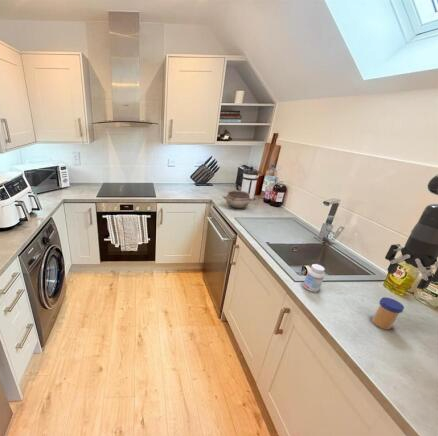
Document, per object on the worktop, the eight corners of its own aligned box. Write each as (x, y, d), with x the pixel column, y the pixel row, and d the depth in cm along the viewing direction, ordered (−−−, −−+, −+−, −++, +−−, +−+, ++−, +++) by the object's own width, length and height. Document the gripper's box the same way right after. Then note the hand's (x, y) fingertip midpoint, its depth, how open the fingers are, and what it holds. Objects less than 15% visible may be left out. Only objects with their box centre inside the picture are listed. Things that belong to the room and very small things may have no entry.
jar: (383, 318, 90) (393, 299, 86) (394, 330, 85) (406, 310, 81) (368, 317, 90) (378, 298, 86) (378, 328, 85) (389, 309, 82)
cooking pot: (250, 204, 204) (253, 191, 199) (254, 212, 188) (257, 198, 183) (220, 202, 210) (222, 189, 205) (221, 209, 193) (223, 195, 188)
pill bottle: (300, 282, 109) (307, 262, 104) (315, 284, 108) (322, 263, 103) (306, 291, 104) (313, 270, 99) (321, 293, 102) (329, 272, 98)
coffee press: (253, 196, 224) (259, 165, 212) (255, 202, 210) (262, 168, 198) (234, 195, 228) (239, 164, 216) (235, 200, 214) (240, 167, 202)
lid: (392, 301, 87) (394, 298, 86) (407, 314, 81) (409, 310, 80) (374, 300, 87) (376, 296, 87) (387, 312, 82) (389, 308, 81)
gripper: (469, 248, 67) (441, 292, 74) (409, 226, 80) (389, 266, 87) (450, 251, 66) (423, 296, 72) (392, 229, 79) (373, 269, 85)
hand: (404, 280), depth 79 cm, fingers open, 7 cm apart
